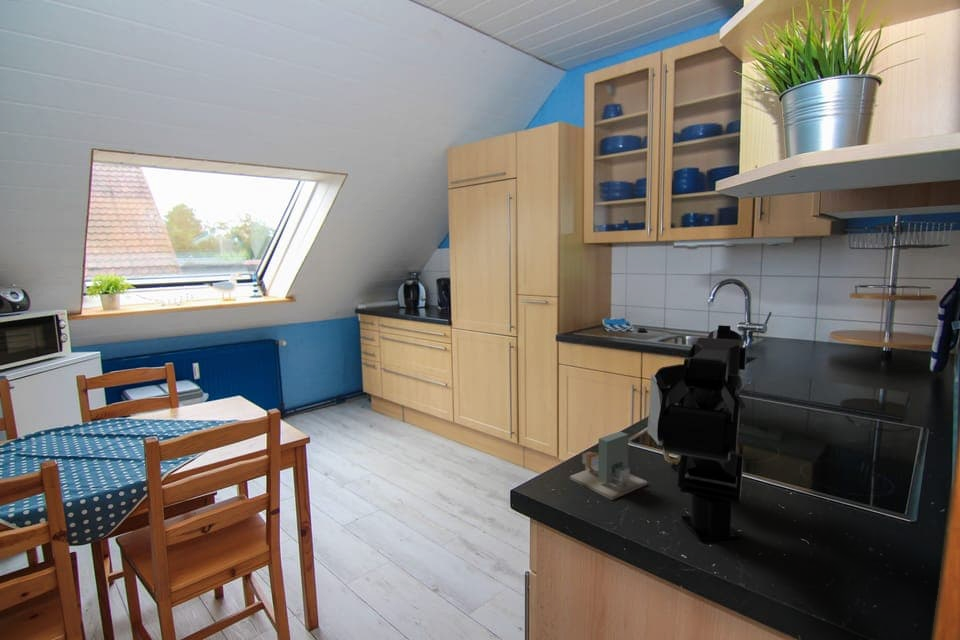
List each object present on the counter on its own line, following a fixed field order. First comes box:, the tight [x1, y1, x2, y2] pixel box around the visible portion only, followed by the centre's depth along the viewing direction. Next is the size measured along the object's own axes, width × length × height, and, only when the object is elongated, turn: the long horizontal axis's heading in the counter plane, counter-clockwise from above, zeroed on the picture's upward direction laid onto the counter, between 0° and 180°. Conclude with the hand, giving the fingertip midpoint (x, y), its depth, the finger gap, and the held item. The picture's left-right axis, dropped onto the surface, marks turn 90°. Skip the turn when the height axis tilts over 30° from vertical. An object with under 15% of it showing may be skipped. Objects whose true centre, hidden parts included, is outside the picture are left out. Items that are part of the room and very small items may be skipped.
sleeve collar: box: [598, 431, 629, 484], centre depth 95 cm, size 3×6×8 cm, turn 124°
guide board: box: [569, 469, 648, 501], centre depth 96 cm, size 10×10×1 cm
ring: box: [662, 448, 681, 466], centre depth 103 cm, size 7×3×8 cm, turn 119°
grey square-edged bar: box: [581, 451, 630, 487], centre depth 96 cm, size 10×2×4 cm, turn 34°
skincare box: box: [647, 373, 678, 447], centre depth 115 cm, size 8×6×15 cm
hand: (673, 431), depth 97 cm, fingers open, 9 cm apart
